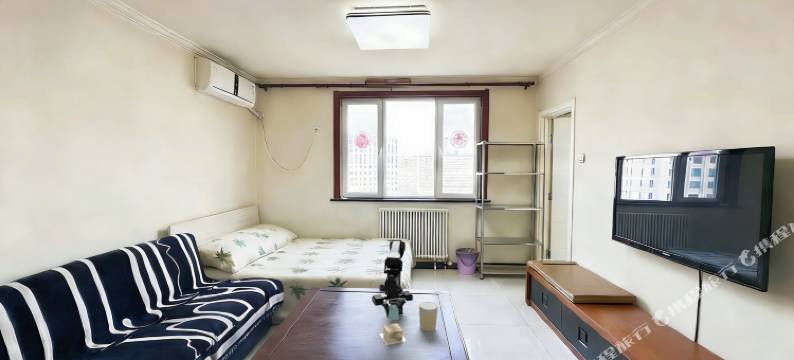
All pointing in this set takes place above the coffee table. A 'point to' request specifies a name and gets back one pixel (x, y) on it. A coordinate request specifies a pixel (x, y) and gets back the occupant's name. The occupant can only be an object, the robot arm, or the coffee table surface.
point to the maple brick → (392, 333)
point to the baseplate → (391, 342)
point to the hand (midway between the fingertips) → (392, 315)
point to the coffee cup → (428, 316)
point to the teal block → (393, 313)
